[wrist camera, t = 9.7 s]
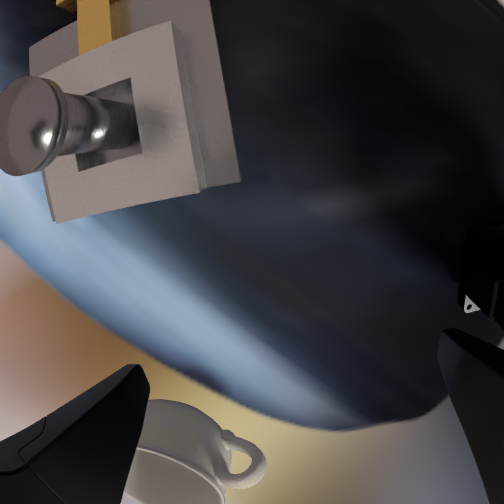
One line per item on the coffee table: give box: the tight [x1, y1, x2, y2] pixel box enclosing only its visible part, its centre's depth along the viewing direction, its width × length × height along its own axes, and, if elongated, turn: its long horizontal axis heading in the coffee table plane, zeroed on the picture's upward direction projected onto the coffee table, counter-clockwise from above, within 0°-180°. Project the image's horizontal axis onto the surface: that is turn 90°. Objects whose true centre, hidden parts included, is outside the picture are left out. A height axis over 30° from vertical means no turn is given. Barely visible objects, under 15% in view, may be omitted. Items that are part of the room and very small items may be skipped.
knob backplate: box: [29, 0, 242, 224], centre depth 16 cm, size 14×17×2 cm
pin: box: [0, 76, 138, 176], centre depth 13 cm, size 4×4×9 cm
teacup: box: [123, 399, 267, 504], centre depth 22 cm, size 14×11×8 cm
